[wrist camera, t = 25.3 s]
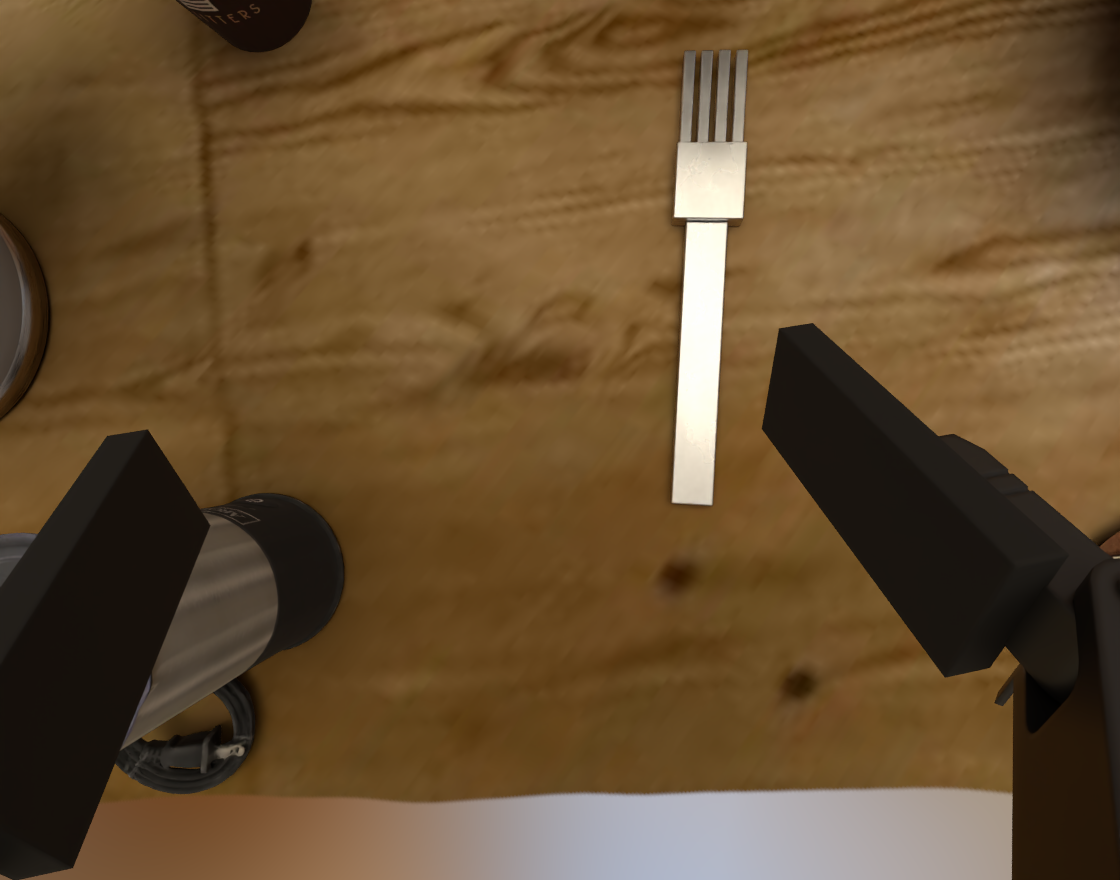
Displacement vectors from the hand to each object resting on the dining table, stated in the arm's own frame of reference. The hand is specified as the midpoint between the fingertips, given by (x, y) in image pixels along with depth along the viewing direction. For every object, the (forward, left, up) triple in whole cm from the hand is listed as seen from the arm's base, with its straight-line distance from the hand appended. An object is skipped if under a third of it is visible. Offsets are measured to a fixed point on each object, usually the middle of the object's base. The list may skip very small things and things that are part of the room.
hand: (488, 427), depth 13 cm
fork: (+5, +10, -20) cm, 23 cm away
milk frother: (-16, -16, -20) cm, 30 cm away
